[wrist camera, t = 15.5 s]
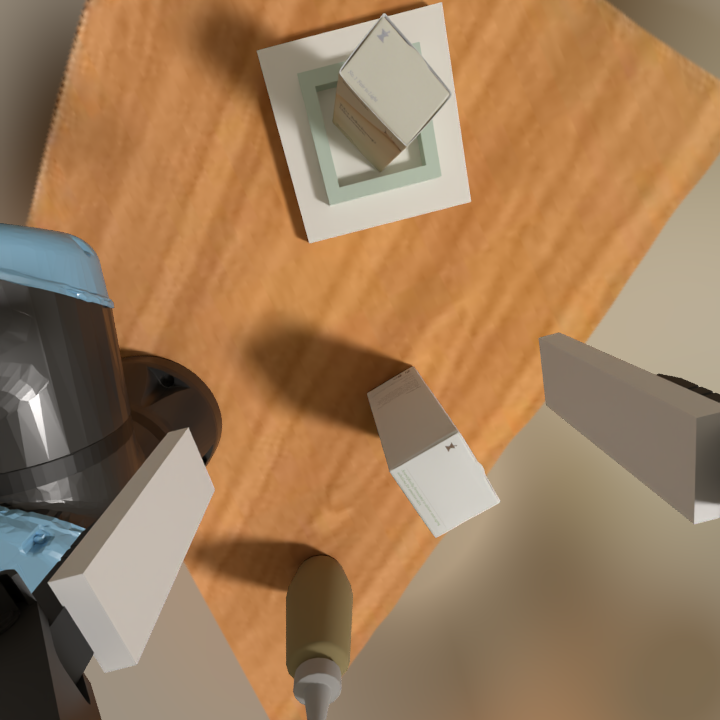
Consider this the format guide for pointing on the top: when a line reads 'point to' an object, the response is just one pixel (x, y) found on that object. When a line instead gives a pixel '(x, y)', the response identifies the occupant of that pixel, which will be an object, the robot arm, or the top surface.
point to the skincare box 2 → (428, 454)
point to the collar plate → (339, 156)
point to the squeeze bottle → (318, 633)
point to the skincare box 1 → (386, 94)
